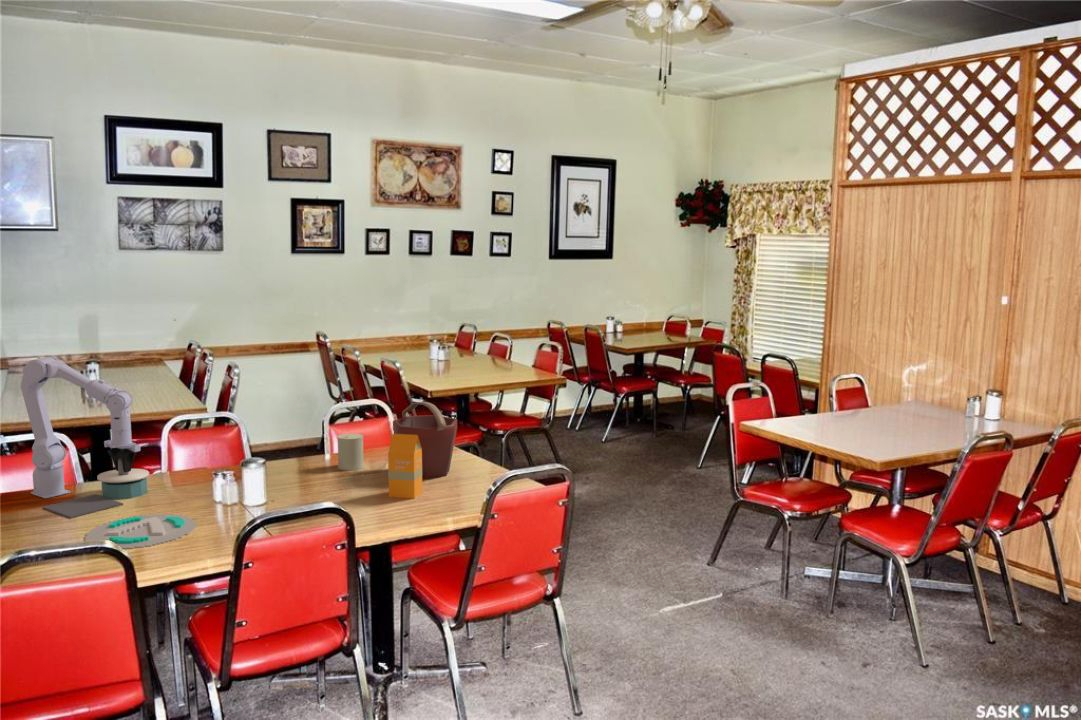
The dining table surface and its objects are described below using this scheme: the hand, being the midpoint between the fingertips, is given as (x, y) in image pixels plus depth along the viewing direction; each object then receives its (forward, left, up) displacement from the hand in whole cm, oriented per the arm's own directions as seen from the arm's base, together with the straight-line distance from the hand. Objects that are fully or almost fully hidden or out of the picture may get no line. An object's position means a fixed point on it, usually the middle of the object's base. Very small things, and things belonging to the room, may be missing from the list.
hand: (123, 471), depth 275 cm
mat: (+3, -15, -7) cm, 17 cm away
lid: (0, 0, -2) cm, 2 cm away
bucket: (+62, +76, -8) cm, 98 cm away
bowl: (0, 0, -7) cm, 7 cm away
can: (+35, +65, -8) cm, 74 cm away
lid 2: (+38, -17, -8) cm, 42 cm away
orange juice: (+74, +52, -8) cm, 91 cm away
